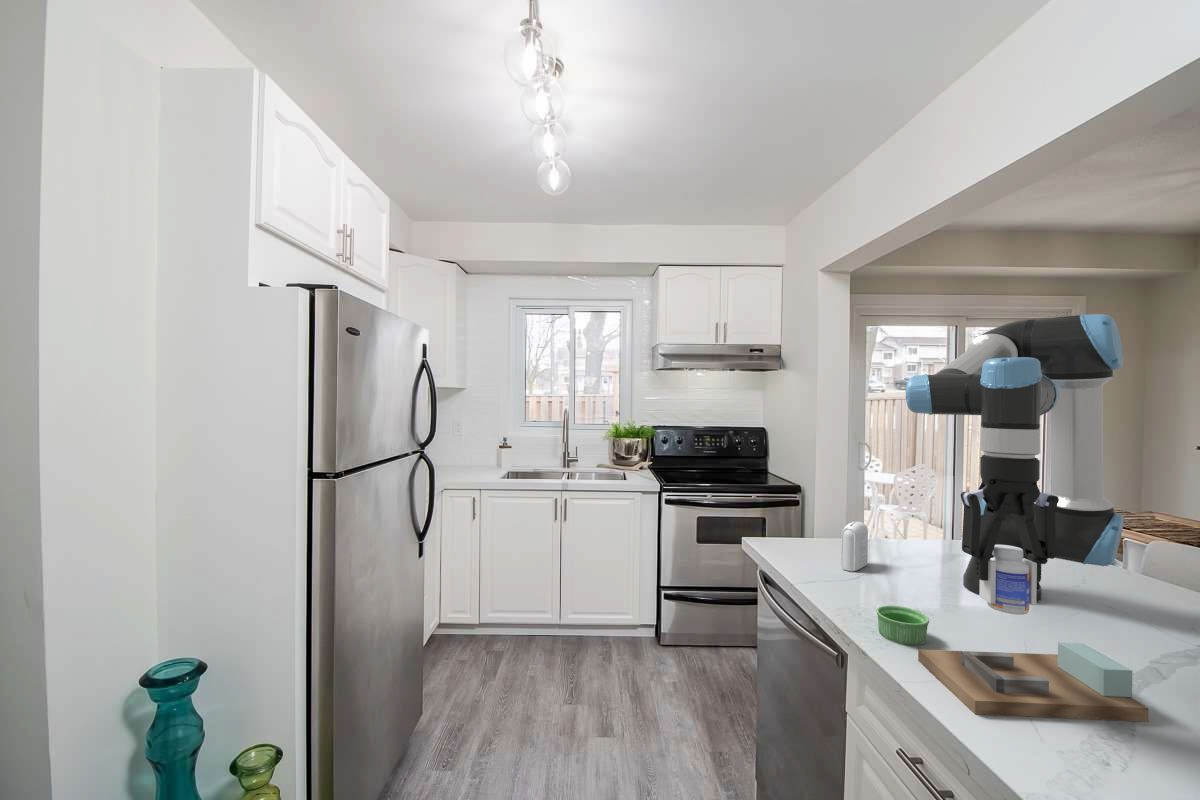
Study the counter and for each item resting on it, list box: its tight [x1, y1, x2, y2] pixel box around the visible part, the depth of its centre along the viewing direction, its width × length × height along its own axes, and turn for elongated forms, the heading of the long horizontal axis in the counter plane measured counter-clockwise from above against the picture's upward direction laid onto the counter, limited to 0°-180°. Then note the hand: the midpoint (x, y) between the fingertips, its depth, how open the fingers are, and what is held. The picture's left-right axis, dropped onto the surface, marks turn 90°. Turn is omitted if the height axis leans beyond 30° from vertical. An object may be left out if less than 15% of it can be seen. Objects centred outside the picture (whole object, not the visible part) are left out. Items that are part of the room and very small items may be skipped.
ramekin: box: [876, 605, 930, 646], centre depth 105 cm, size 9×9×4 cm
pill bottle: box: [986, 545, 1030, 615], centre depth 85 cm, size 5×5×10 cm
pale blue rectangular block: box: [1057, 642, 1133, 698], centre depth 85 cm, size 4×9×4 cm, turn 176°
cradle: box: [917, 649, 1150, 723], centre depth 86 cm, size 24×16×4 cm, turn 86°
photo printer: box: [840, 521, 869, 572], centre depth 147 cm, size 10×4×12 cm, turn 134°
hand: (1007, 600), depth 85 cm, fingers closed on pill bottle, 5 cm apart
